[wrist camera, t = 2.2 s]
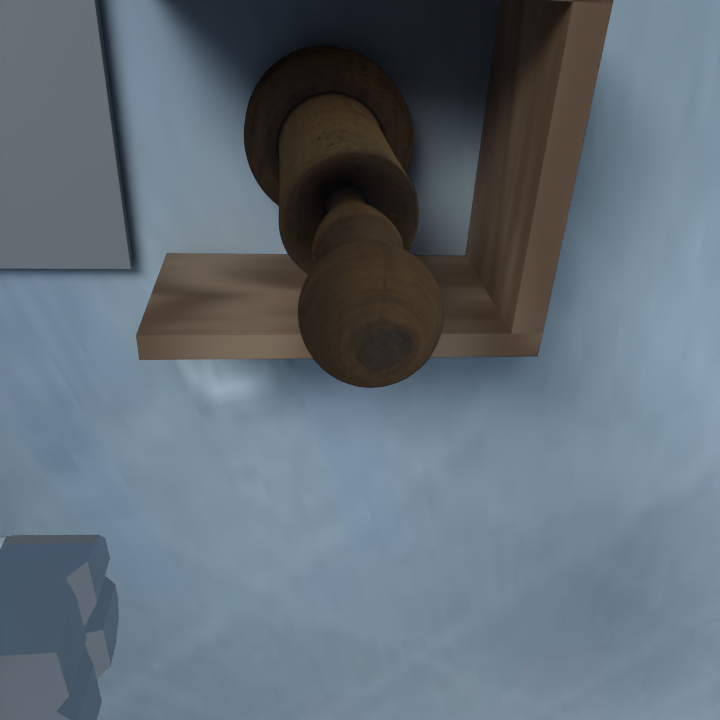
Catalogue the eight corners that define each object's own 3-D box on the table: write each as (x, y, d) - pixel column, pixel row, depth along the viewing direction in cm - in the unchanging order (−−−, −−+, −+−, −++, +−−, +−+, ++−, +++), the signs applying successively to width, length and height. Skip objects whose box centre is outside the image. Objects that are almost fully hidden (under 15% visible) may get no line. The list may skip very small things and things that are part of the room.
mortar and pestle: (409, 44, 27) (577, 177, 12) (402, 204, 30) (526, 470, 15) (239, 44, 26) (180, 184, 11) (251, 207, 30) (219, 488, 14)
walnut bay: (168, 274, 31) (139, 359, 24) (133, -64, 24) (80, -67, 18) (487, 275, 32) (537, 356, 26) (537, -41, 26) (620, -37, 19)
